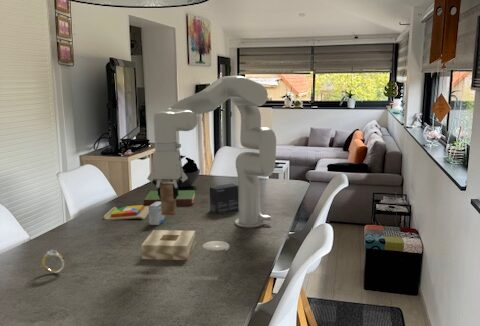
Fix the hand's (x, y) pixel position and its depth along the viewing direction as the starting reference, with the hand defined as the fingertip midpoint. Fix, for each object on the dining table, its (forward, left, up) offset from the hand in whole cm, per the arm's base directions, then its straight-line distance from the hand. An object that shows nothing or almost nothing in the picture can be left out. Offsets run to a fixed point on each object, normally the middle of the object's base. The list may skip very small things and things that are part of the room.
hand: (168, 197), depth 158 cm
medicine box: (+14, -36, -21) cm, 44 cm away
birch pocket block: (0, 0, -21) cm, 21 cm away
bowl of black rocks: (+16, -105, -21) cm, 108 cm away
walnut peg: (0, 0, -6) cm, 6 cm away
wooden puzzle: (+31, -48, -22) cm, 61 cm away
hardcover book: (+16, -73, -22) cm, 78 cm away
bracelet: (+34, +19, -21) cm, 44 cm away
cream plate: (-16, -6, -21) cm, 27 cm away
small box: (-14, -57, -21) cm, 62 cm away
